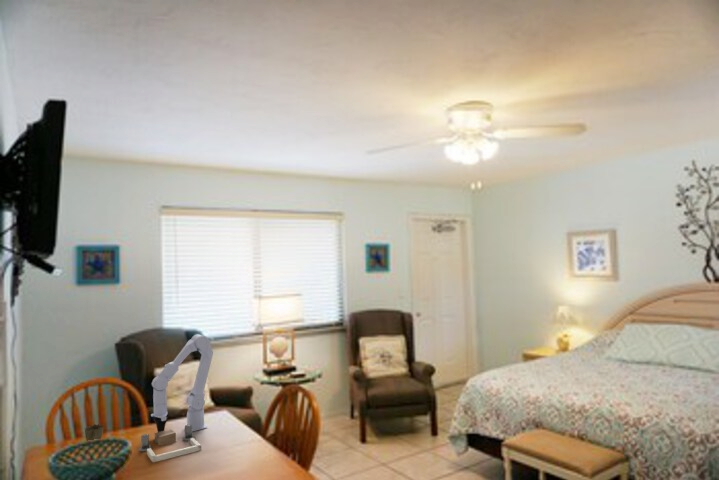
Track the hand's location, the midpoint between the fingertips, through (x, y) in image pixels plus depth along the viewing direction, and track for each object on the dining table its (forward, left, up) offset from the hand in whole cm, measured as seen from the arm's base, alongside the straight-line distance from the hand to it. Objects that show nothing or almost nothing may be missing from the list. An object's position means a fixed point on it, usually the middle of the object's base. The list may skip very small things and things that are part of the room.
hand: (160, 433), depth 218 cm
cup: (-10, -26, -2) cm, 28 cm away
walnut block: (+9, 0, -2) cm, 9 cm away
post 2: (+13, +9, -1) cm, 16 cm away
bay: (+25, 0, -1) cm, 25 cm away
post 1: (+13, -9, -1) cm, 16 cm away
